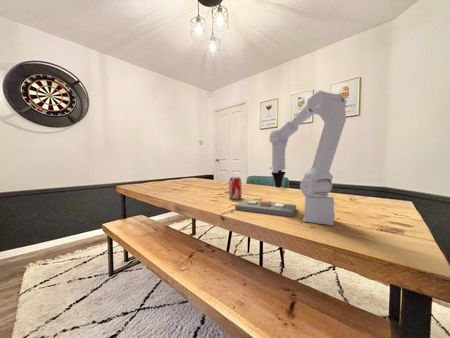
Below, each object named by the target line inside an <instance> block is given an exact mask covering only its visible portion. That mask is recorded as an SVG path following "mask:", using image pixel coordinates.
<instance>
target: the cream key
mask: <svg viewBox="0 0 450 338" xmlns="http://www.w3.org/2000/svg"><path fill="white" fill-rule="evenodd" d="M275 203H276V204H275V205H274V207H276V208H284V207H285V204H286V203H283V204H278V203H279V202H275Z"/></svg>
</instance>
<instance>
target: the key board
mask: <svg viewBox="0 0 450 338" xmlns="http://www.w3.org/2000/svg"><path fill="white" fill-rule="evenodd" d="M249 201H253V200H252V199H251V200H250V199H244V200H242V201H241V202H238V203H237V204H235V205H234V210H235V211H243V212H249V213H256V214H257V213H259V214H265V215H273V216H282V217H290V218H293V216H294V215H295V212H296V210H297V204H292V203H282V202H281V203H280V202H271V206H269V207H267V206H260V201H261V200H257V201H258V204H257V205H249V204H247V202H249ZM276 203H278V204H285V207H284V208H276V207H274V205H275V204H276Z"/></svg>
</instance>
